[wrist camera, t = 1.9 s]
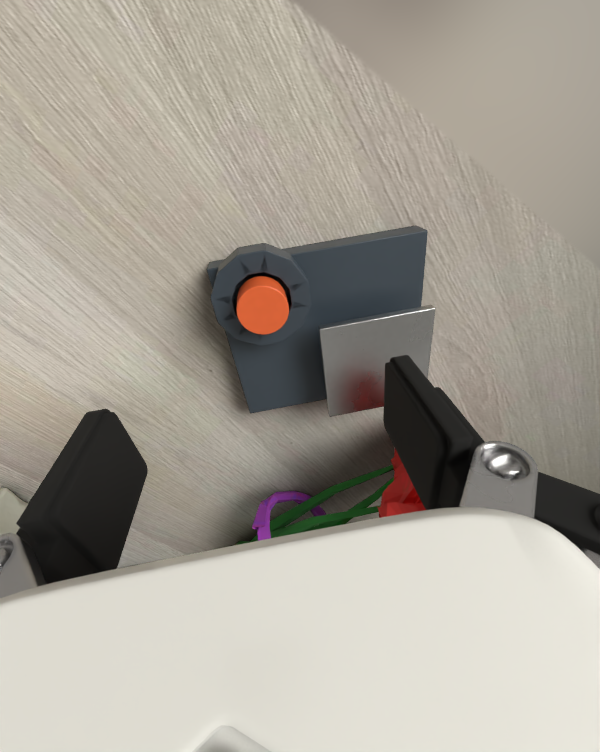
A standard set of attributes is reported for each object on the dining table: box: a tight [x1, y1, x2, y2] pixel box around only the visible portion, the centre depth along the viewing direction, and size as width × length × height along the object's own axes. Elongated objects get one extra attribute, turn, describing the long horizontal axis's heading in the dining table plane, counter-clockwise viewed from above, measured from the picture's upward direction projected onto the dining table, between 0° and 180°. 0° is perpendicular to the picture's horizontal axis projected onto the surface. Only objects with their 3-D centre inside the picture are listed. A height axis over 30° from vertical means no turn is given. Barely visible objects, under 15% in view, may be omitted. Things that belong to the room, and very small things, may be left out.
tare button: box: [236, 276, 289, 334], centre depth 19 cm, size 3×3×2 cm
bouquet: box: [235, 449, 426, 545], centre depth 32 cm, size 20×16×30 cm
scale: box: [207, 226, 427, 413], centre depth 23 cm, size 13×14×4 cm
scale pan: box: [318, 305, 435, 417], centre depth 23 cm, size 8×8×1 cm
